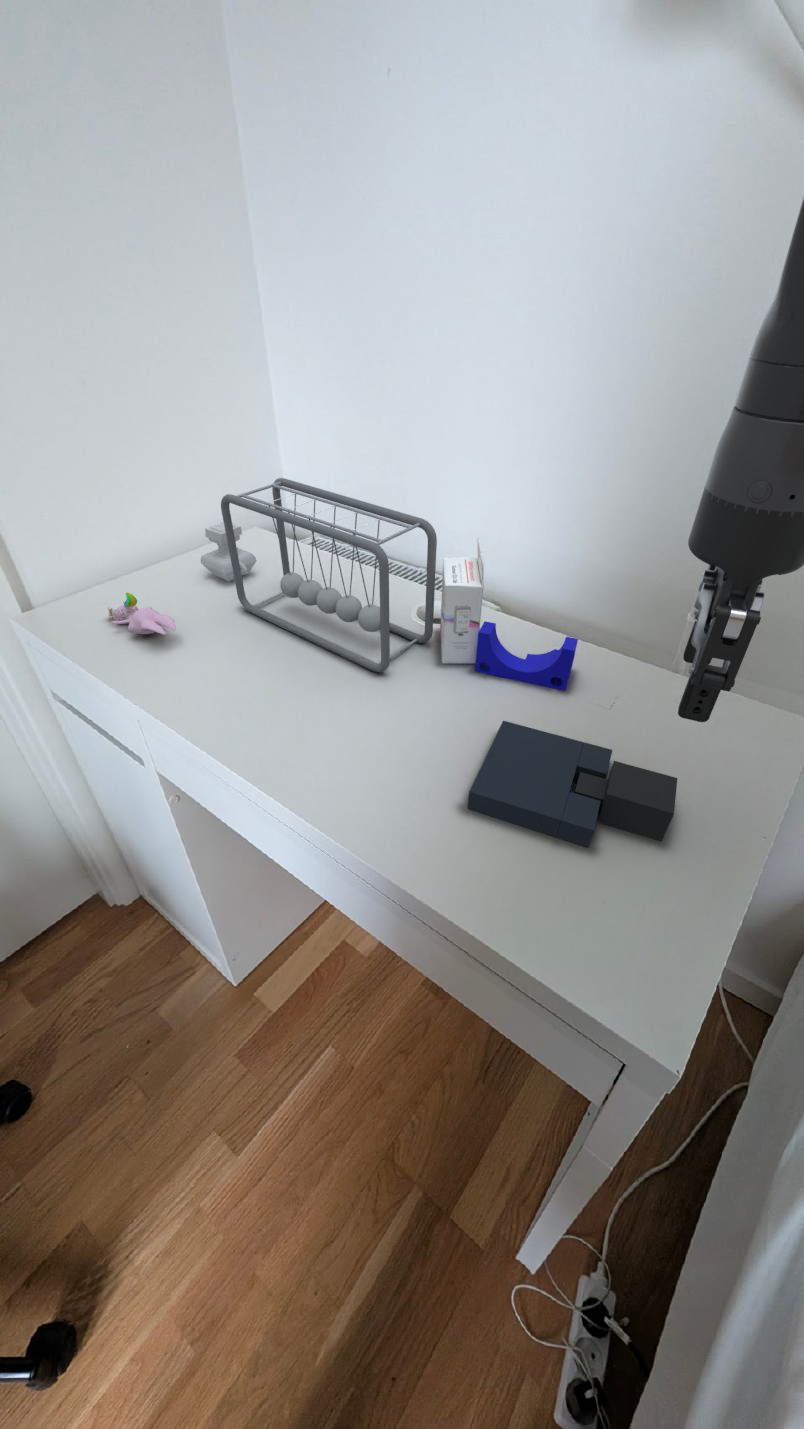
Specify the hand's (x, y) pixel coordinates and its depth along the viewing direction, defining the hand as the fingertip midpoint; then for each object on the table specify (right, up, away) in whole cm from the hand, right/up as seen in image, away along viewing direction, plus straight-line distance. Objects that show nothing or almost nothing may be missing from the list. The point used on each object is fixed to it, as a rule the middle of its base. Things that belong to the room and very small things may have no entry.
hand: (693, 687), depth 48 cm
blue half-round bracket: (-8, +3, +29) cm, 30 cm away
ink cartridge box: (-17, +7, +34) cm, 38 cm away
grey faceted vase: (-54, +21, +51) cm, 77 cm away
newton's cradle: (-35, +11, +38) cm, 53 cm away
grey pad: (-10, -10, +13) cm, 19 cm away
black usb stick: (-3, -12, +10) cm, 16 cm away
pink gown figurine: (-62, +10, +37) cm, 72 cm away
